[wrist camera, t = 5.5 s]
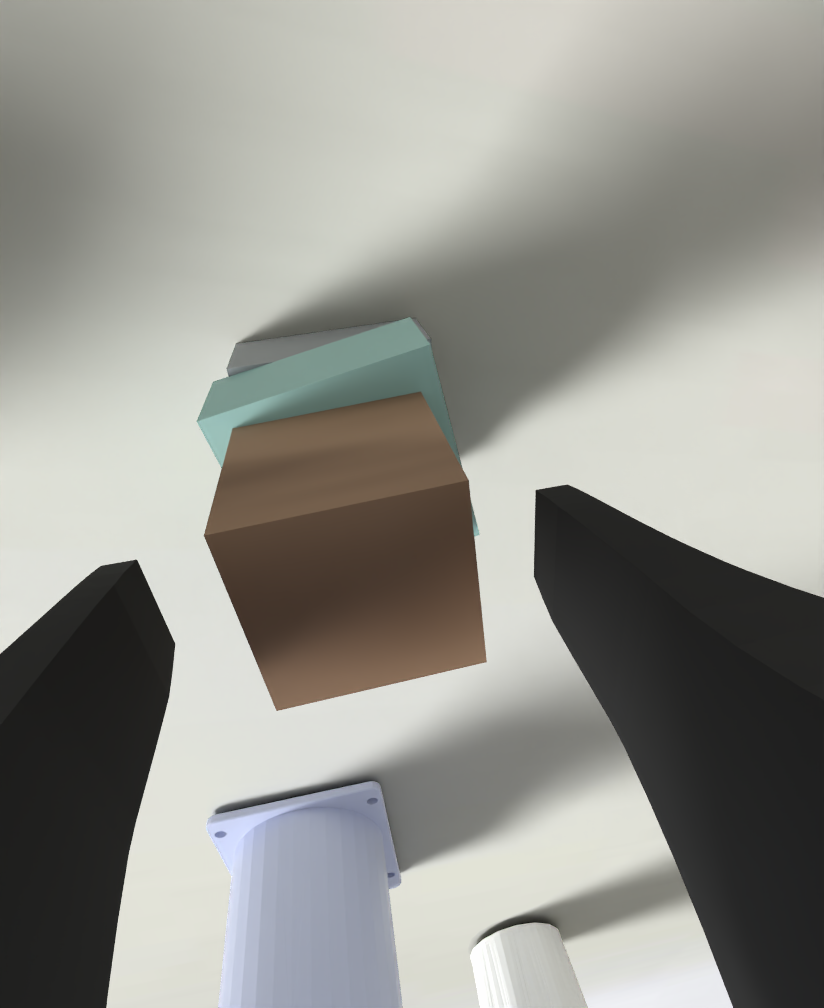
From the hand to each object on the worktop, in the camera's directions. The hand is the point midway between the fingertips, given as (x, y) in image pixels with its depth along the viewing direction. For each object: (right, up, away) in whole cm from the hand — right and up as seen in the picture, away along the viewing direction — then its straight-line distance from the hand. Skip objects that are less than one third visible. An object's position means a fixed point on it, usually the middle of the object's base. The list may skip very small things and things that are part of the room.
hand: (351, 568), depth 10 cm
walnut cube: (0, +1, +2) cm, 3 cm away
